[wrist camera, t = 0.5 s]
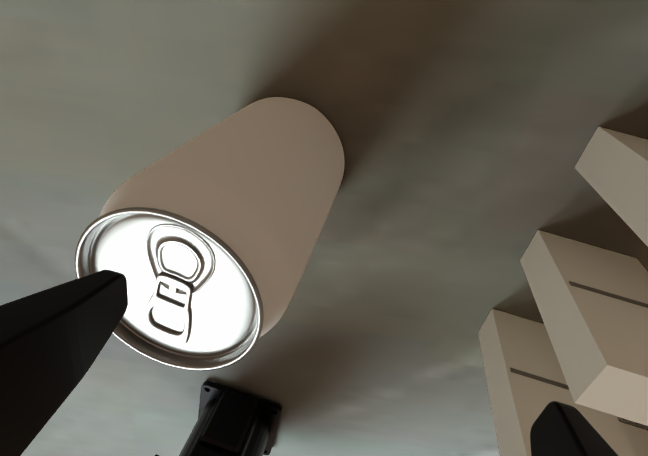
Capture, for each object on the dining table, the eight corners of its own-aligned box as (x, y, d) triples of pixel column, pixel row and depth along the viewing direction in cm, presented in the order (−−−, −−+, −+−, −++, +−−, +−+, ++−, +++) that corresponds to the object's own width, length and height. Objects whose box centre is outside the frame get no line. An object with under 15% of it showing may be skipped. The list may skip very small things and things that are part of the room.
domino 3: (559, 358, 24) (624, 524, 17) (477, 333, 25) (504, 484, 17) (578, 333, 23) (657, 498, 16) (492, 307, 24) (528, 457, 16)
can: (365, 123, 20) (308, 255, 10) (323, 228, 23) (247, 408, 13) (243, 74, 20) (57, 152, 10) (218, 185, 23) (60, 331, 13)
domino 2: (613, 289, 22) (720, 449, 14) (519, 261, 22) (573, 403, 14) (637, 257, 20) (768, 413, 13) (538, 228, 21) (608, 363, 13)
